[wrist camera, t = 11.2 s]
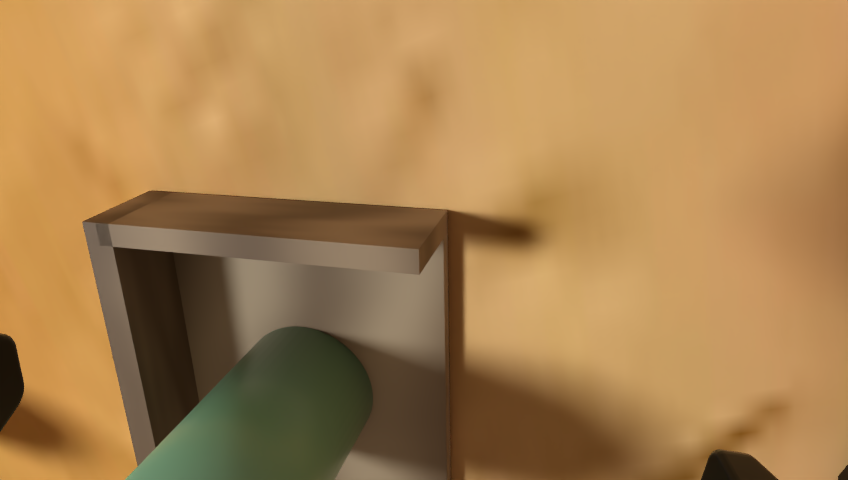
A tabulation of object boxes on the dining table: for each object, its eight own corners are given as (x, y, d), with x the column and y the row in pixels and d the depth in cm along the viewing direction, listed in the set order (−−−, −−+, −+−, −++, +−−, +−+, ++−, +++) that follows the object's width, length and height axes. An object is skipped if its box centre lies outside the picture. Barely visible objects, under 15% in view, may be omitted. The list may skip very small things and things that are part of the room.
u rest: (447, 210, 22) (418, 249, 19) (451, 545, 27) (429, 619, 24) (150, 190, 25) (82, 221, 22) (206, 496, 30) (158, 557, 27)
